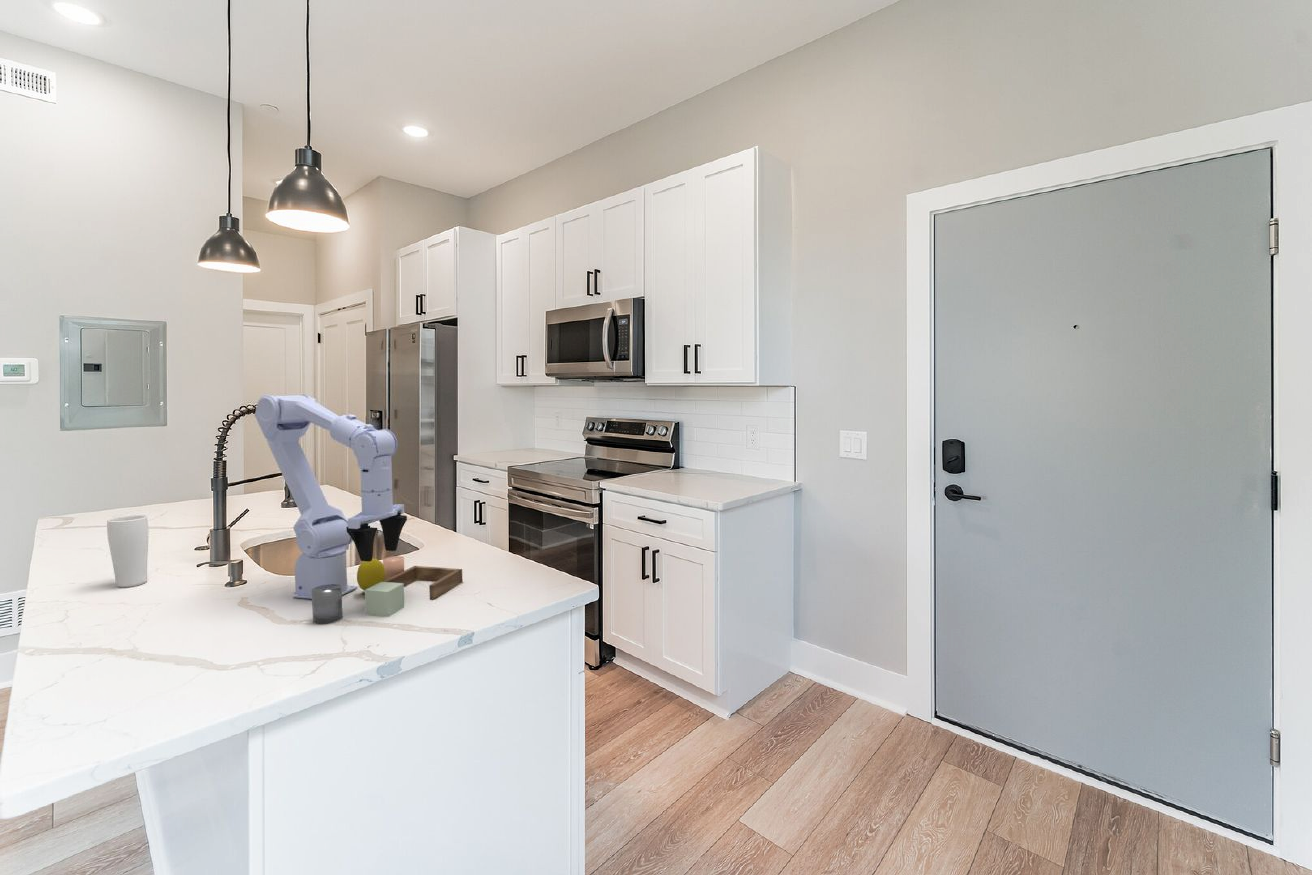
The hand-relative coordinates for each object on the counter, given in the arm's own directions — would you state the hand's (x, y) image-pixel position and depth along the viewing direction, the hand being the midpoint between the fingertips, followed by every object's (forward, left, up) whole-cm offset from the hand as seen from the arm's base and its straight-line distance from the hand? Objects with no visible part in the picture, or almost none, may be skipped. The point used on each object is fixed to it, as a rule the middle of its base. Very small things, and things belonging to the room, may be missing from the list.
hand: (379, 555), depth 121 cm
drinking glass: (-61, -2, -10) cm, 62 cm away
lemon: (-5, +4, -10) cm, 12 cm away
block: (+4, -4, -10) cm, 11 cm away
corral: (+4, +9, -10) cm, 14 cm away
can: (-4, -10, -10) cm, 14 cm away
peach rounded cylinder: (-6, +13, -10) cm, 18 cm away
